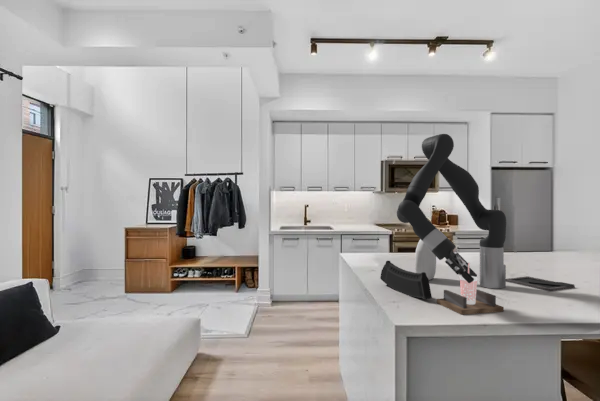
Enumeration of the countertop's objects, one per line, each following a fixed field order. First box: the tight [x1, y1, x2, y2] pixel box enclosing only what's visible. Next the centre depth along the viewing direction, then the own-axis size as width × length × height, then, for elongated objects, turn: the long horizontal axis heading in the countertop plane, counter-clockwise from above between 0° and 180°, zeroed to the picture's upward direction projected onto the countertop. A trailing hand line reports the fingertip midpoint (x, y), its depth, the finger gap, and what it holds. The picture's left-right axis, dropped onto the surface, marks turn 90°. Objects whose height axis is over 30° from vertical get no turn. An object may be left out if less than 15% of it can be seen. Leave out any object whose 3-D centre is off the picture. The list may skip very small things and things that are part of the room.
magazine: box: [379, 260, 432, 300], centre depth 149 cm, size 17×3×30 cm
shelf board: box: [436, 289, 504, 316], centre depth 129 cm, size 16×14×5 cm
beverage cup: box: [458, 262, 479, 305], centre depth 129 cm, size 6×6×14 cm
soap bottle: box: [414, 224, 437, 281], centre depth 173 cm, size 14×8×27 cm, turn 127°
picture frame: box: [506, 275, 576, 292], centre depth 163 cm, size 16×2×21 cm
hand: (473, 279), depth 128 cm, fingers open, 7 cm apart
